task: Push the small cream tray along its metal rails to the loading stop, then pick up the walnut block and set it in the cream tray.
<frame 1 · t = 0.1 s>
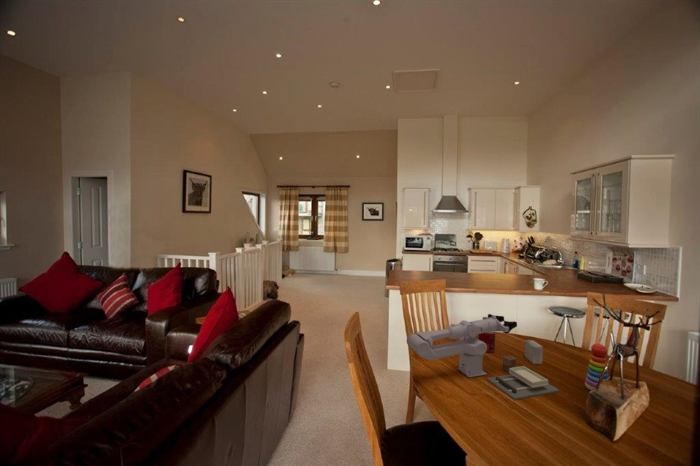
hand: (509, 321, 141), 22 cm above the table, tool horizontal, fingers open, 7 cm apart
medicine box: (533, 360, 149), on the table
walnut block: (509, 370, 139), on the table
cream tray: (527, 377, 127), point 3 cm above the table, slide at 6.0 cm
cart track: (521, 385, 126), on the table
canned food: (486, 350, 160), on the table
stacking toy: (596, 389, 124), on the table
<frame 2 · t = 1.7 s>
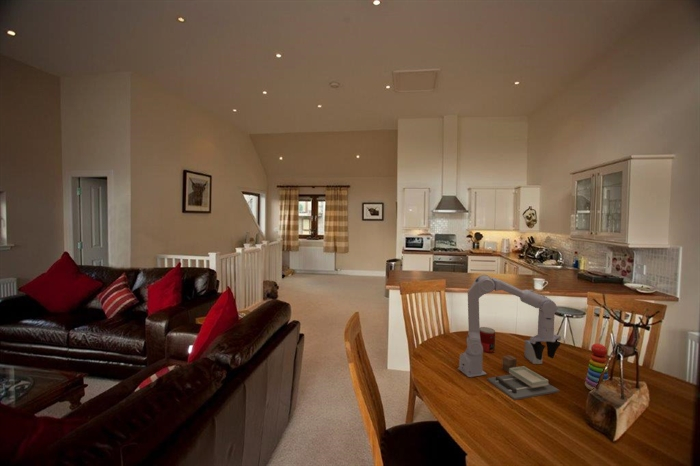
hand: (544, 358, 129), 10 cm above the table, tool pointing down, fingers open, 6 cm apart
nothing on the table moved.
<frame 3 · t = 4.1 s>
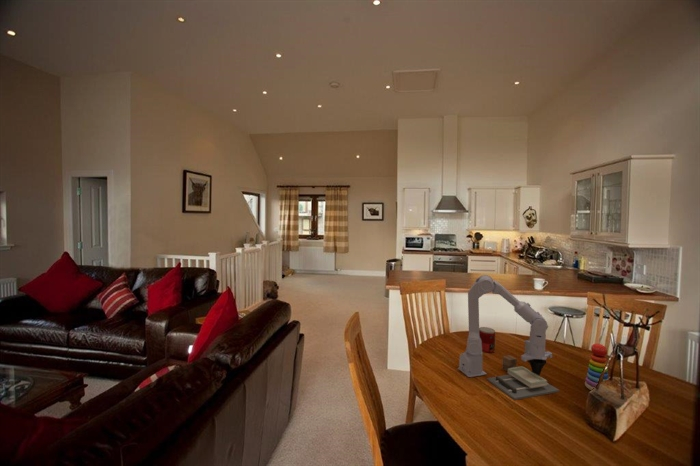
hand: (536, 375, 128), 3 cm above the table, tool pointing down, fingers closed
cream tray: (526, 377, 126), point 3 cm above the table, slide at 5.3 cm, touching gripper
everything else where it was.
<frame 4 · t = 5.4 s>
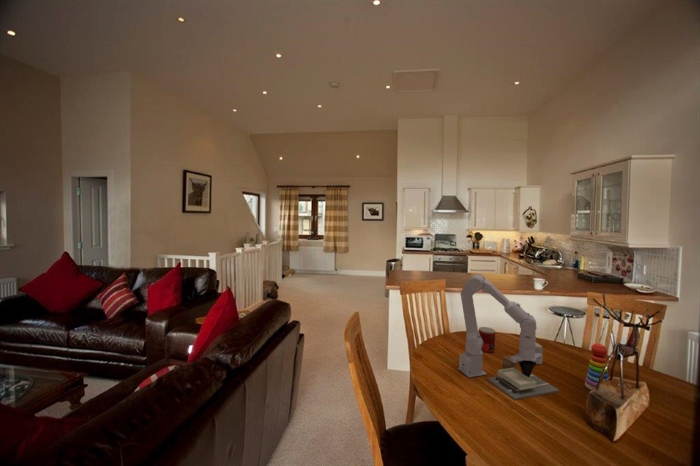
hand: (526, 377, 126), 3 cm above the table, tool pointing down, fingers closed
cream tray: (516, 379, 125), point 3 cm above the table, slide at 0.0 cm, touching gripper
everything else where it was.
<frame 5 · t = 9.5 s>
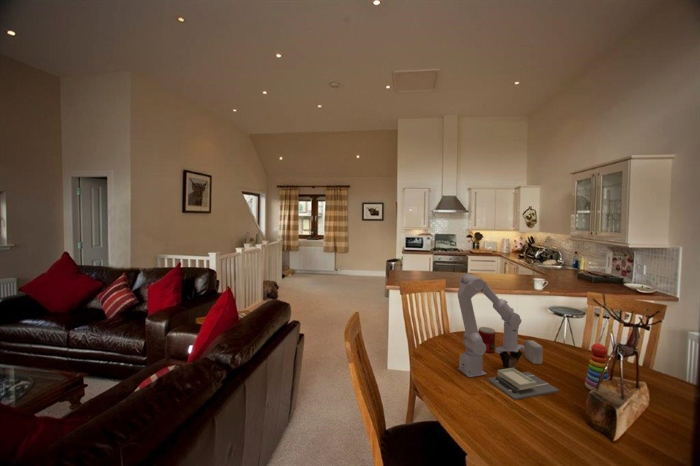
hand: (509, 366, 139), 2 cm above the table, tool pointing down, fingers closed on walnut block, 4 cm apart
walnut block: (509, 370, 139), on the table, touching gripper
cream tray: (516, 379, 125), point 3 cm above the table, slide at 0.0 cm
everything else where it was.
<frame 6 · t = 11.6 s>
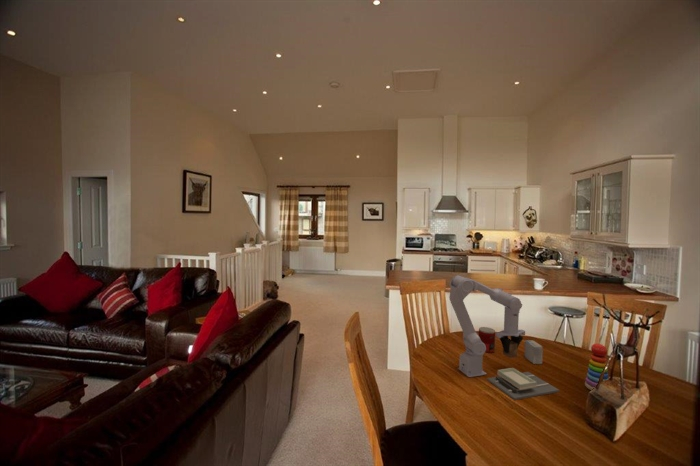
hand: (510, 351, 138), 9 cm above the table, tool pointing down, fingers closed on walnut block, 4 cm apart
walnut block: (509, 355, 138), point 7 cm above the table, touching gripper
everything else where it was.
when the fingers open (7 cm above the table, at t = 13.8 s): walnut block drops 2 cm, resting on cream tray.
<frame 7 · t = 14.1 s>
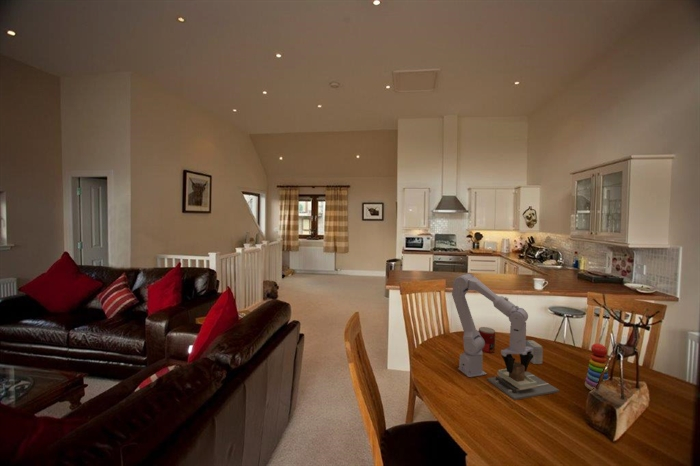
hand: (516, 370, 125), 7 cm above the table, tool pointing down, fingers open, 7 cm apart
walnut block: (516, 378, 125), point 3 cm above the table, touching cream tray
cream tray: (516, 379, 125), point 3 cm above the table, slide at 0.0 cm, touching walnut block
everything else where it was.
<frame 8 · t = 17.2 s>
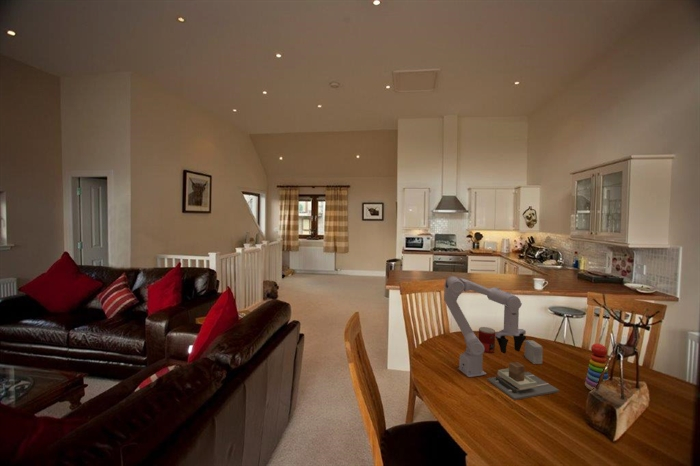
hand: (510, 351, 135), 10 cm above the table, tool pointing down, fingers open, 7 cm apart
nothing on the table moved.
at the end: cream tray slide at 0.0 cm; walnut block 0.0 cm off-centre on the cream tray, point 3.4 cm above the cream tray's base; walnut block tilted 0° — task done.
